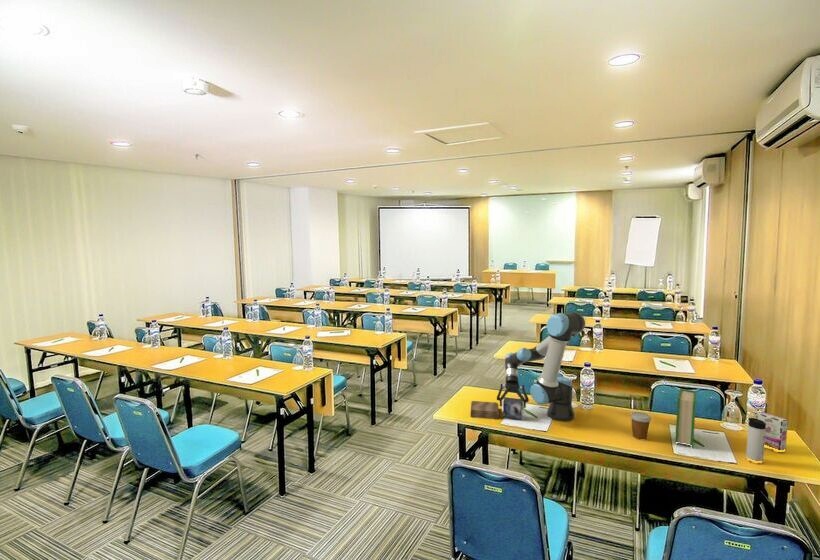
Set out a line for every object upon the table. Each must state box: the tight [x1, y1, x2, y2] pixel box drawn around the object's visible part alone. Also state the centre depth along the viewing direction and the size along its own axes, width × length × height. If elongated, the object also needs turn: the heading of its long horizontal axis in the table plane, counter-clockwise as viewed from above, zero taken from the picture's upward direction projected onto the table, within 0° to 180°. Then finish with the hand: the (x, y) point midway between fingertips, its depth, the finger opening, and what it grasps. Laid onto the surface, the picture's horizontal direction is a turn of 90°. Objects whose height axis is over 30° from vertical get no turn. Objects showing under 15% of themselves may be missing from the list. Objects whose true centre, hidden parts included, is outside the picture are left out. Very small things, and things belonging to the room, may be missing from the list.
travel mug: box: [745, 417, 766, 462], centre depth 198 cm, size 6×7×20 cm
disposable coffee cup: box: [629, 411, 652, 440], centre depth 223 cm, size 10×10×12 cm
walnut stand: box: [470, 400, 500, 420], centre depth 254 cm, size 16×16×4 cm
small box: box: [502, 396, 523, 421], centre depth 247 cm, size 11×6×10 cm, turn 73°
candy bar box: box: [756, 411, 789, 450], centre depth 212 cm, size 11×5×16 cm, turn 21°
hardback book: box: [674, 388, 697, 447], centre depth 220 cm, size 18×7×24 cm, turn 145°
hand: (512, 412), depth 245 cm, fingers closed on small box, 11 cm apart
